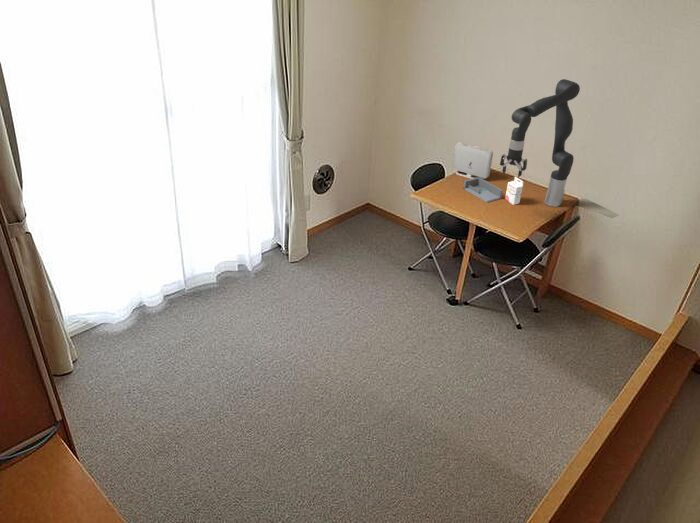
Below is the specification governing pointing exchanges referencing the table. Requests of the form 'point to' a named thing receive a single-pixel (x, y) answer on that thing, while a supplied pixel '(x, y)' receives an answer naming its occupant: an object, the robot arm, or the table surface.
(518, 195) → the ink cartridge box
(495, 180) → the table surface
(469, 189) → the board
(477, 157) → the network device
